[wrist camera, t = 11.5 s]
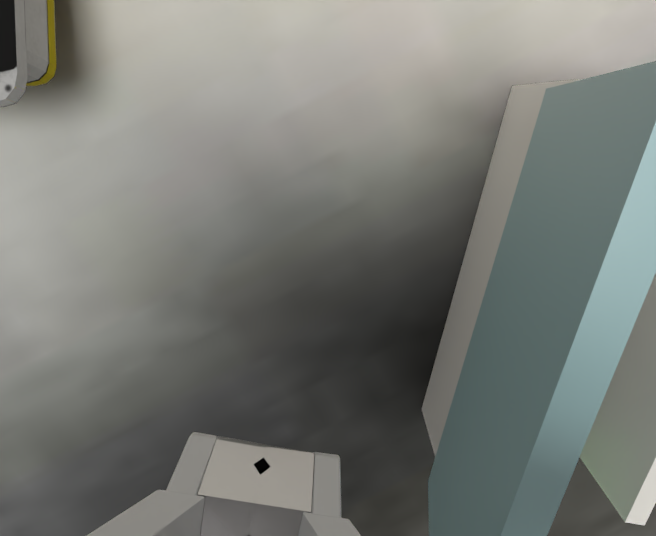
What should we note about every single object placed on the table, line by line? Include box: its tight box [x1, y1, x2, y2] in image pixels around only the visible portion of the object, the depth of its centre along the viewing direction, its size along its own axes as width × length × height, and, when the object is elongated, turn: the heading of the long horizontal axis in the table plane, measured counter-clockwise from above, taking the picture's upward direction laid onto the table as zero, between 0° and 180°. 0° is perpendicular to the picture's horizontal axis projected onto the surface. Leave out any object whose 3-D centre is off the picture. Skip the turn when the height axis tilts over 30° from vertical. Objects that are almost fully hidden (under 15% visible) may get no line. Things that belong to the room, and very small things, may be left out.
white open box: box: [421, 79, 656, 525], centre depth 24 cm, size 19×10×7 cm, turn 170°
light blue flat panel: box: [428, 61, 656, 536], centre depth 16 cm, size 18×10×1 cm
